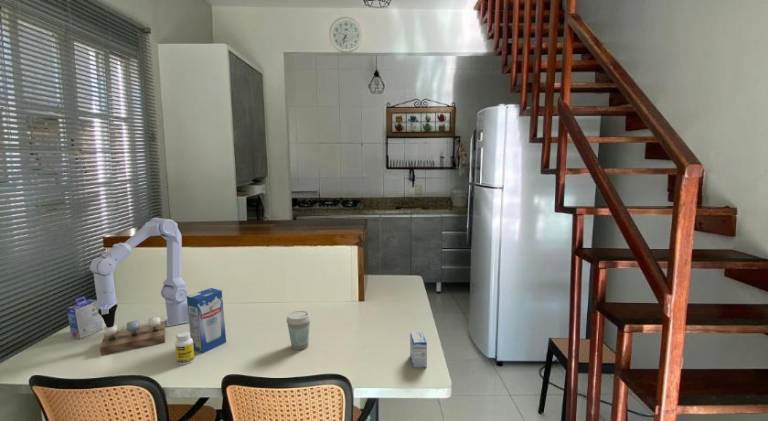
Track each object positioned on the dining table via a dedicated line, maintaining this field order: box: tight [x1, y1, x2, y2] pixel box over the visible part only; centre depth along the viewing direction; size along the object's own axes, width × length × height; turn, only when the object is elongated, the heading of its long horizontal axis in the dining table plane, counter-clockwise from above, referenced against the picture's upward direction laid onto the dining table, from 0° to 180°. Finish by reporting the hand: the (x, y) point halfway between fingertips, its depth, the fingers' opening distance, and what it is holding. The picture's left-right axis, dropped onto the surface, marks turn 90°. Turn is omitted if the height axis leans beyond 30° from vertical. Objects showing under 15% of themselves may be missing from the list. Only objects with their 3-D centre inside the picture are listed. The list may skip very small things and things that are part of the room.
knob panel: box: [99, 322, 166, 357], centre depth 157 cm, size 20×12×3 cm, turn 117°
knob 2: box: [147, 316, 162, 331], centre depth 159 cm, size 4×4×4 cm
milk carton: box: [186, 287, 227, 354], centre depth 151 cm, size 10×6×20 cm, turn 148°
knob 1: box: [103, 324, 119, 339], centre depth 153 cm, size 4×4×4 cm
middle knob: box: [126, 320, 141, 335], centre depth 156 cm, size 4×4×4 cm
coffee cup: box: [286, 310, 312, 351], centre depth 150 cm, size 8×8×12 cm
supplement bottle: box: [174, 331, 195, 366], centre depth 142 cm, size 5×5×10 cm
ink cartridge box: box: [65, 296, 104, 340], centre depth 165 cm, size 10×6×14 cm, turn 161°
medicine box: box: [409, 331, 428, 368], centre depth 138 cm, size 8×4×9 cm, turn 5°
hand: (110, 326), depth 153 cm, fingers closed
